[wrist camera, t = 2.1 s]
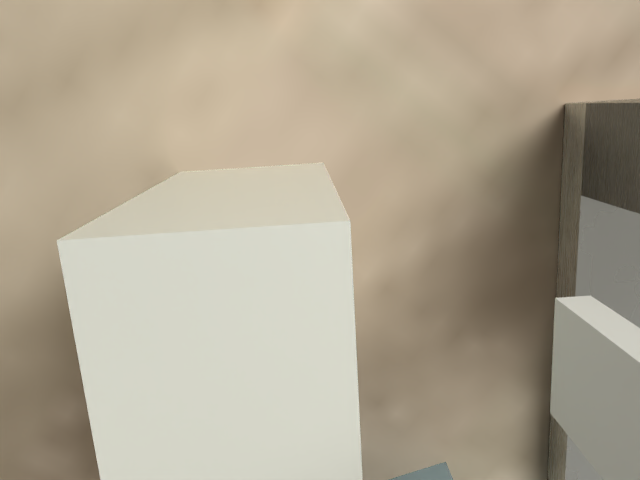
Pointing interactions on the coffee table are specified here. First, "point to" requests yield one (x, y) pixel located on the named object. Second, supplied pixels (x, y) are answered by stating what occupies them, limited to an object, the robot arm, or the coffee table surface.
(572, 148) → the rail
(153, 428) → the block
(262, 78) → the coffee table surface
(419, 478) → the block
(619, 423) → the robot arm
